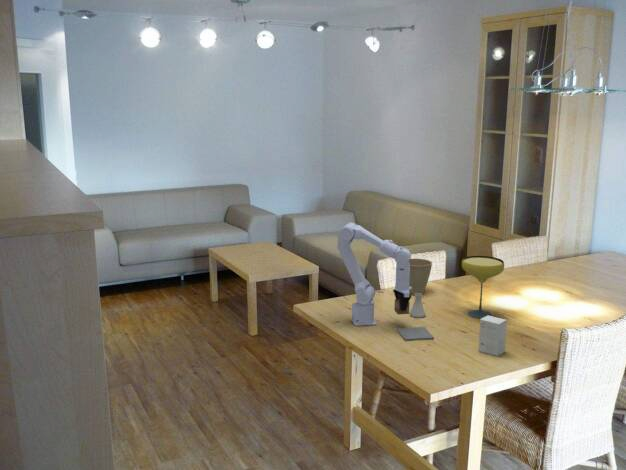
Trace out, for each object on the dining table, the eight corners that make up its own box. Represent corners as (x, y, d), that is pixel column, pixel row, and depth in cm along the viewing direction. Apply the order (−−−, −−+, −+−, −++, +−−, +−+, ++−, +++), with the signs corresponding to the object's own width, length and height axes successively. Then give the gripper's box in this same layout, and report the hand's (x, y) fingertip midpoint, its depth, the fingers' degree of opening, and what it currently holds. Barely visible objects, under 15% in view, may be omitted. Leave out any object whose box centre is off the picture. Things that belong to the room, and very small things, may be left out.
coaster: (404, 340, 250) (404, 339, 250) (396, 330, 261) (396, 328, 261) (433, 339, 251) (433, 337, 251) (424, 328, 263) (424, 326, 263)
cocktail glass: (500, 309, 286) (504, 257, 280) (501, 323, 269) (504, 267, 263) (460, 306, 290) (462, 254, 285) (458, 319, 273) (461, 264, 268)
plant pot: (433, 297, 303) (434, 265, 300) (402, 297, 304) (403, 265, 300) (428, 288, 318) (429, 258, 314) (399, 288, 318) (399, 258, 315)
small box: (505, 351, 239) (507, 319, 236) (497, 356, 234) (499, 324, 231) (485, 346, 244) (487, 314, 241) (477, 351, 240) (479, 318, 237)
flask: (413, 319, 274) (414, 297, 272) (406, 313, 281) (407, 292, 279) (428, 317, 276) (429, 296, 274) (421, 312, 283) (422, 291, 281)
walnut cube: (397, 314, 261) (397, 303, 260) (394, 310, 266) (394, 299, 265) (409, 313, 262) (409, 302, 261) (405, 309, 267) (406, 298, 266)
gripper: (417, 282, 254) (415, 313, 257) (406, 272, 268) (405, 302, 271) (400, 282, 253) (399, 314, 256) (391, 273, 267) (390, 303, 270)
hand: (401, 308), depth 264 cm, fingers closed on walnut cube, 5 cm apart
